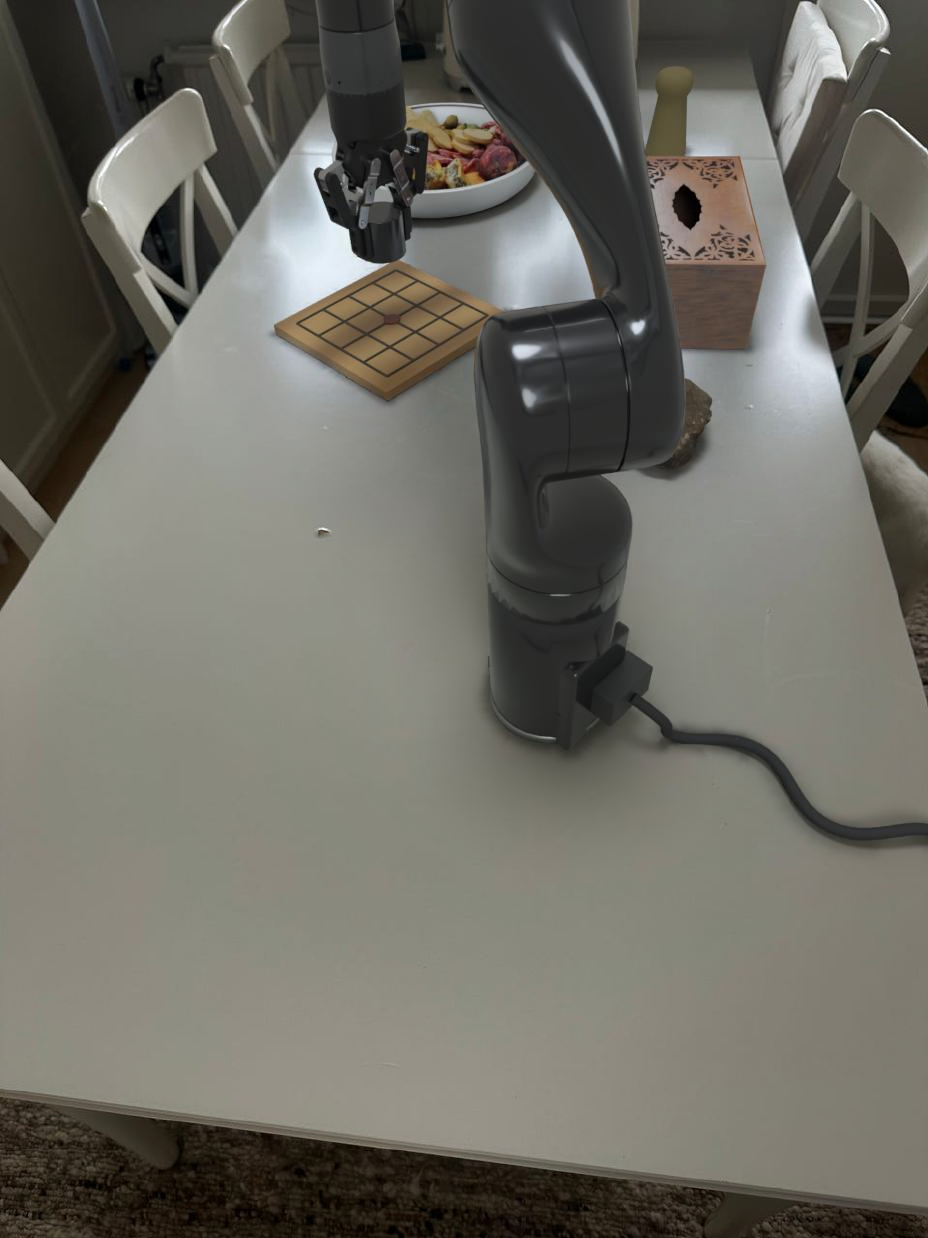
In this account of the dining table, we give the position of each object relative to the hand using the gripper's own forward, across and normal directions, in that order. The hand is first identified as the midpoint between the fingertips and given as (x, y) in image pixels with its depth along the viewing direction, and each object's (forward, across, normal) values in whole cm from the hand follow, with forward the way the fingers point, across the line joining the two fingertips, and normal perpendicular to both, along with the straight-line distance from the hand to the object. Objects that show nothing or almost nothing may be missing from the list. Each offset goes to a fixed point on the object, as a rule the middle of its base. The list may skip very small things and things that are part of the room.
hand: (383, 247), depth 95 cm
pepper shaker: (+10, +59, +4) cm, 60 cm away
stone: (+10, +3, -33) cm, 35 cm away
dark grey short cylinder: (+1, 0, 0) cm, 1 cm away
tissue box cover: (+10, +29, -20) cm, 36 cm away
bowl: (+10, +31, +24) cm, 41 cm away
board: (+10, 0, 0) cm, 10 cm away
